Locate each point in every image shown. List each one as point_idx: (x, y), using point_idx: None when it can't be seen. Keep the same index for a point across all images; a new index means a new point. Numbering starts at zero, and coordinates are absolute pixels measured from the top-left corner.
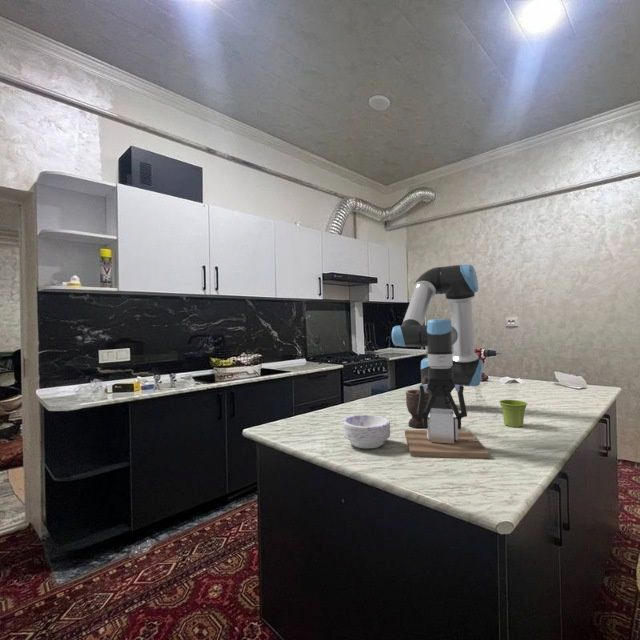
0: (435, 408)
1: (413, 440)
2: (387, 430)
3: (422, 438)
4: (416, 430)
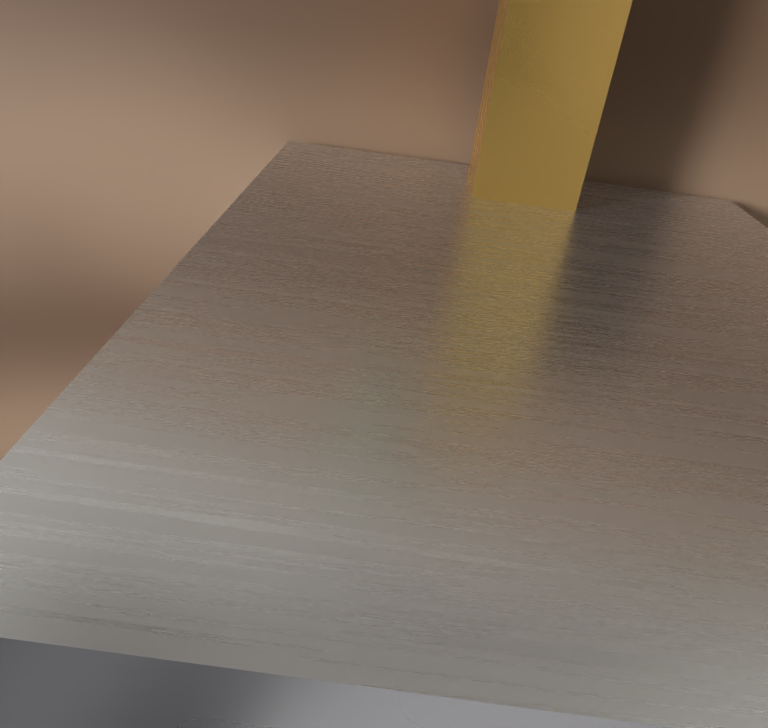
0: (239, 684)
1: (23, 402)
2: None
3: (139, 290)
4: None
